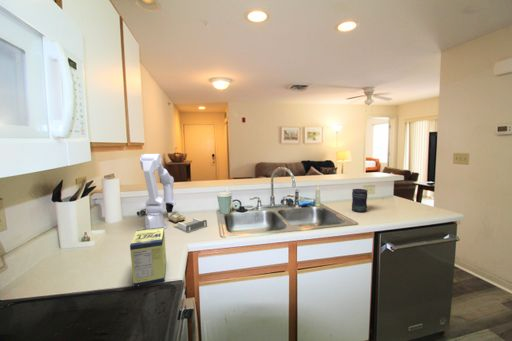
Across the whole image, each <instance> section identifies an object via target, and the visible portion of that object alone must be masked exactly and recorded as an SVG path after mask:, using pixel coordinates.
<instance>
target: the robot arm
mask: <svg viewBox="0 0 512 341" xmlns="http://www.w3.org/2000/svg"><path fill="white" fill-rule="evenodd" d="M162 161H163V160H162V155H161V154H160V153H142V154H141V155H140V158H139V164H140V167H141V170H142V171H143V175H144V179H145V184H146V188H147V193H148V199H147V200H146V201H145V212H146V213H147V214H148V215H145V218H144V220H145V222H144V223H145V228H144V229H152V228H160V227H164V229H167V228H168V227H167V226H166V225H165V222H164V221H165V220H164V213H165V212H167V214H168V213H171V212H173V209H174V206H177V202H176V199H174V189H173V188H174V182H175V179H174V178H175V177H173V176H172V175H171V174H170V173H169V172H168V170H167V169H166V168H164V166H163V164H162ZM155 171H157V175H158V176H159V178H160V183H161V185H162V187H163V198H162V197H161V196H160V195H159V194H160V193H159V189H158V185H157V179H156V175H155V174H156V173H155Z"/></svg>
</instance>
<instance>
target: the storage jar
mask: <svg viewBox="0 0 512 341" xmlns="http://www.w3.org/2000/svg"><path fill="white" fill-rule="evenodd" d="M351 192H352V194H351V198H352V202H351V211H352V212H353V213H358V214H365V213H367V209H368V204H367V202H368V201H367V200H368V189H365V188H364V189H363V188H352V191H351Z"/></svg>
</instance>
